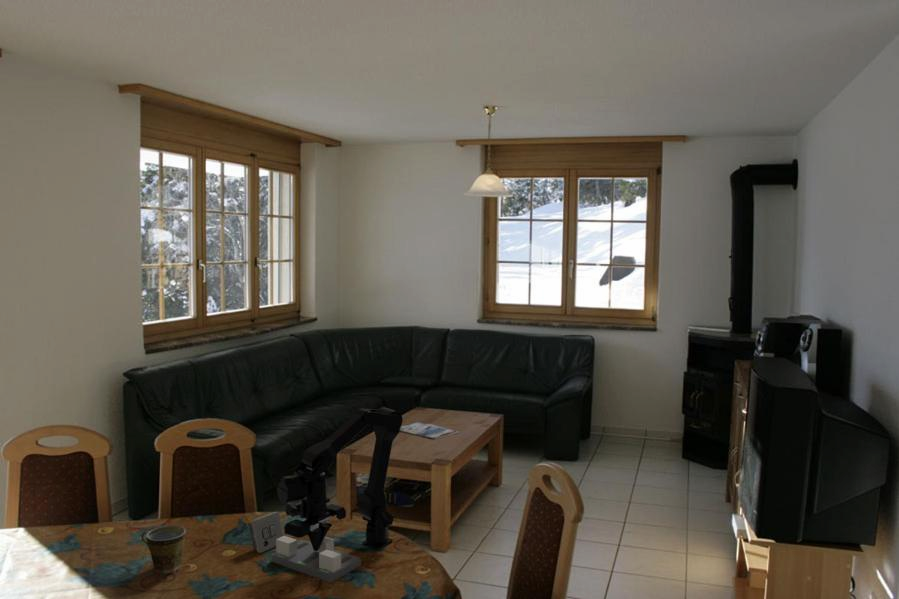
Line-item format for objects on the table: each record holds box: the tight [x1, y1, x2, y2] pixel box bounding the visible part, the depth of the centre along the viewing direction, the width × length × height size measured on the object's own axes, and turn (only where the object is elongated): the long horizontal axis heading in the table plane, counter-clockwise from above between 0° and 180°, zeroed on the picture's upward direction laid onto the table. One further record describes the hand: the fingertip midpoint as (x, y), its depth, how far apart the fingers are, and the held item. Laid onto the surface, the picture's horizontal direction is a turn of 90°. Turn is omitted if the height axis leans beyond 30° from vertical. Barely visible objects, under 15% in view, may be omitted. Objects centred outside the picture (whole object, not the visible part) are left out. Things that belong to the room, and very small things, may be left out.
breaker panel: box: [270, 535, 362, 583], centre depth 208 cm, size 12×22×6 cm, turn 56°
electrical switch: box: [248, 511, 285, 554], centre depth 219 cm, size 9×5×9 cm, turn 141°
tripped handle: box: [313, 535, 335, 553], centre depth 211 cm, size 3×5×4 cm, turn 56°
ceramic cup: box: [141, 525, 187, 575], centre depth 205 cm, size 13×10×10 cm
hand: (316, 550), depth 208 cm, fingers closed
